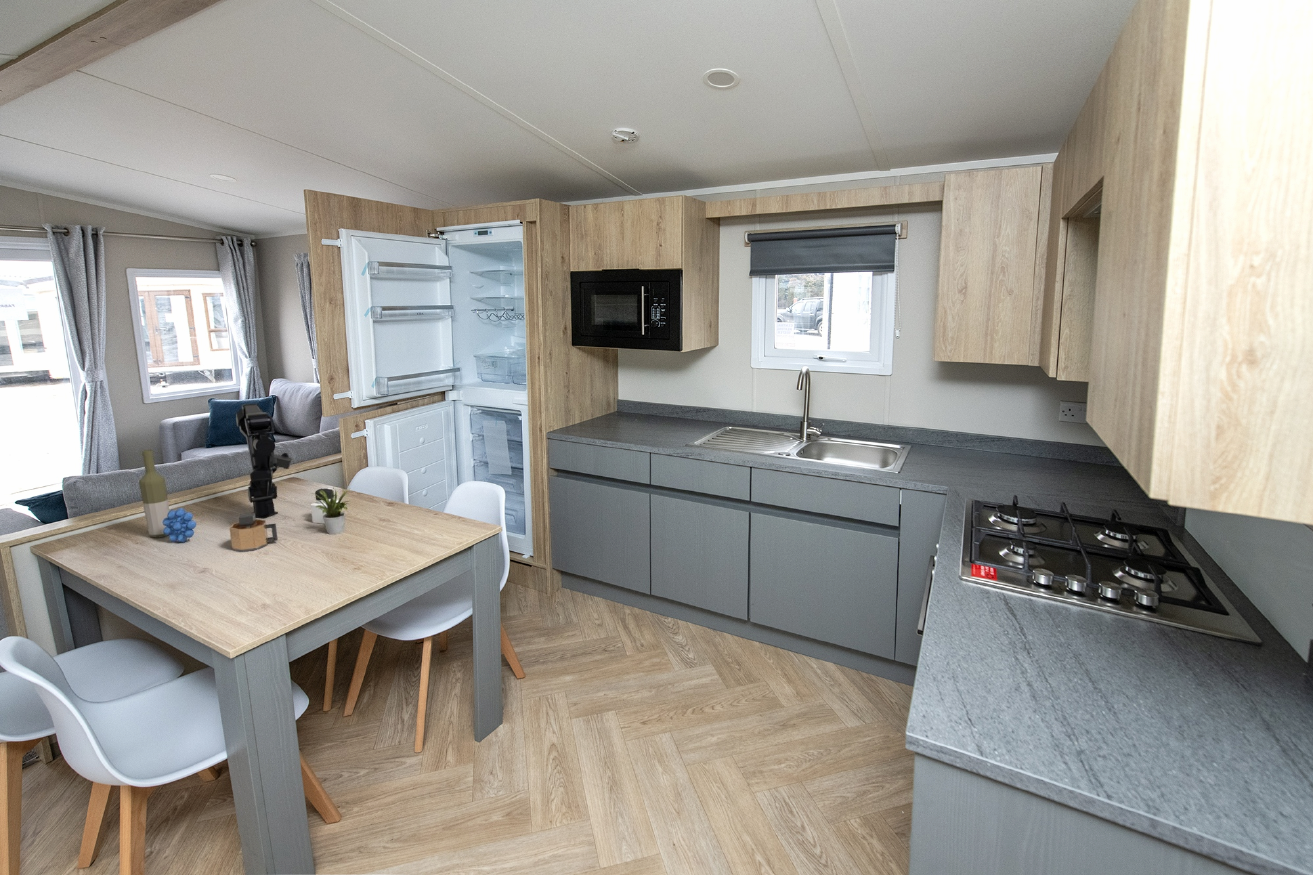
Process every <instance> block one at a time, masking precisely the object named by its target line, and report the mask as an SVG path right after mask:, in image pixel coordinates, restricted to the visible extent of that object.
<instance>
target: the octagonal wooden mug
mask: <svg viewBox="0 0 1313 875" xmlns="http://www.w3.org/2000/svg"><path fill="white" fill-rule="evenodd" d="M255 519H256V522H255V524H254V525H250V528H247V526H242V527H240V526H239V521H238V522H235V523H232V524H231V525H230V527H229V534H230V541H231V548H232V550H233V551H234V552H238V553H245V552H253V551H257V549H258V550H261V549H263V548H265V547H267V546H268V545H269V543H270V542H277V541H278V540H279V539H278V532H277V531H278V529H277V523H270V524H269V523H268V524H267V521H266V519H261V518H255ZM267 529H271V534H272V536H271V537H268V530H267Z"/></svg>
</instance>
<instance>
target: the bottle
mask: <svg viewBox="0 0 1313 875" xmlns="http://www.w3.org/2000/svg"><path fill="white" fill-rule="evenodd" d="M141 455H142V457H143V458H142V459H143V464H144V470H145V472H144V474H143V476H142V477H141V478H140V480H139V482H138V486H139V490H140V495H141V500H142V505H143V510H144V515H145V521H146V526H147V530H148V536H150V537H151V538H163V537H167V536H168V535H165V534H164V533H163V530H164V528H165V527H167V526H164V525H163V523H162V522H163V520H164V518H167V514H168V512H169V511H170V505H169V496H168V491H167V483H166V479H165V477H164V476H162V474H159V473H158V472H157V471H156V466H155V461H154V452H153V450H152V449H145V450H141Z"/></svg>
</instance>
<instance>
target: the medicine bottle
mask: <svg viewBox="0 0 1313 875" xmlns="http://www.w3.org/2000/svg"><path fill="white" fill-rule="evenodd" d="M321 490H322V491H321ZM332 490H333V496H332ZM323 491H324V492H325V493H326V495H327V497H328V499H329V501H330V499H332V498H333V497H334V498H335V496H334V495H335V490H334V489H333V488H331V487H322V488H319V489H317V490H315V492H314V495H315V494H316V495H315V497H317V498H315V502H314V503H311V504H310V510H311V519H312V523H313V524H323V525H325V522H324V519H323V516H324V515H325V514H327V513H326V512H324V513H323V510H324V509H323V510H321V509H318V508H320V507H316V506H318V505H322V506H323V504H324V505H325V506H326V507H327V505H326V504H325V503H324V502H323V501H322V500H321V499H320V498H318V496H319V497H322V498H324V497H323V496H322V494H321V493H320V492H322V493H323ZM323 494H324V493H323ZM317 495H318V496H317ZM324 495H325V494H324ZM324 499H325V498H324ZM318 500H320V501H321V502H322V503H323V504H322V503H321V502H319V501H318ZM338 501H339V499H337V501H336V505H337V503H338ZM340 503H342V501H341V502H340ZM327 509H329V508H328V507H327Z"/></svg>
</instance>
